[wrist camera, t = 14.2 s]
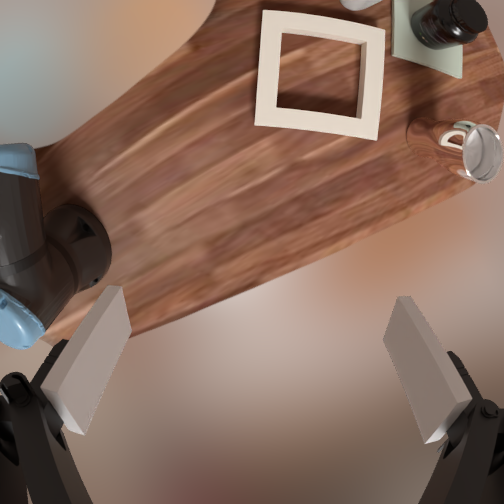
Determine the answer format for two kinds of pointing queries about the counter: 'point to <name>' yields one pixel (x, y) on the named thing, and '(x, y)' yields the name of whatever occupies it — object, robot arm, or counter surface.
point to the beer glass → (458, 146)
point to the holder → (331, 29)
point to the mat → (410, 47)
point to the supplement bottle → (448, 23)
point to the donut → (358, 4)
